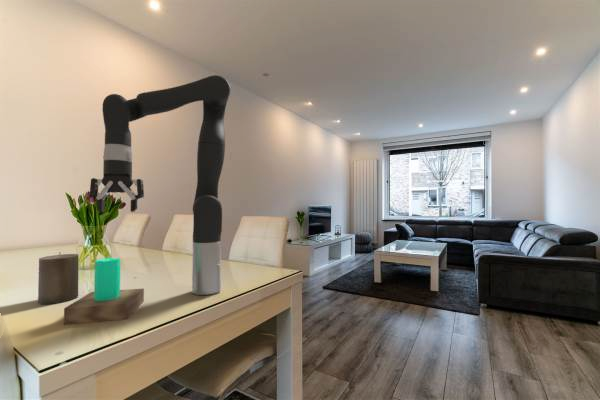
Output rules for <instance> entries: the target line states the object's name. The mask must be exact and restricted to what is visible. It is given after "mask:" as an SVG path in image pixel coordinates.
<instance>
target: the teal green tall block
mask: <svg viewBox="0 0 600 400" xmlns="http://www.w3.org/2000/svg"><path fill="white" fill-rule="evenodd" d="M93 290H94V291H93V292H94V300H96V301H105V300H111V299H115V298H117V297H119V296H120V290H121V258H114V257H107V258H101V259H98V260H95V261H94V289H93Z"/></svg>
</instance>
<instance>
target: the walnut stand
mask: <svg viewBox="0 0 600 400" xmlns="http://www.w3.org/2000/svg"><path fill="white" fill-rule="evenodd" d="M144 297H145V289H144V288H131V289H128V288H127V289H120V296H119V297H117V298H115V299H111V300H105V301H96V300H94V291H91V292H89V293H87V294H86V295H84V296H83V297H81V298H79V299H78V300H76V301H74V302H73V303H70V304H69V305H67V306H65V307H64V309H63V325H73V324H74V325H75V324H84V323H85V324H87V323H94V322H95V323H97V322H99V323H100V322H109V321H119V320H120V321H121V320H127V319H129V318H130V316H132V314H133V313H134V312H135V311H136V310H138V308H139V307H140V306H141V305H142V304H143V303H144V301H145V299H144Z"/></svg>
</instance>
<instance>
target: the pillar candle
mask: <svg viewBox="0 0 600 400" xmlns="http://www.w3.org/2000/svg"><path fill="white" fill-rule="evenodd" d="M79 260H80V259H79V254H78V253H66V254H65V253H63V254H62V253H61V252H59V254H55V255H47V256H42V257H39V258H38V282H37V283H38V284H37V286H38V293H37V295H38V297H37V302H38V304H39V305H50V304H51V305H53V304H58V303H59V304H60V303H64V302H69V301H72V300H74V299H77V298H78V297H79Z"/></svg>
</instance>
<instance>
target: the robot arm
mask: <svg viewBox="0 0 600 400" xmlns="http://www.w3.org/2000/svg"><path fill="white" fill-rule="evenodd" d="M230 94H231V85H230V83H229V81H228V80H227V79H226V78H225V77H223V76H220V75H217V74H216V75H209V76H207V77H204V78H201V79H197V80H196V81H192V82H188V83H186V84H183V85H177V86H174V87H173V86H172V87H168V88H164V89H157V90H151V91H144V92H141V93H138V94H137V95H136V97H134V98H132V99H126V98H125V97H124V96H122V95H120V94H118V93H117V94H116V93H111V94H108V95H107V96H106V97H105V98H104V99H103V102H102V117H103V124H104V129H105V130H104V147H103V148H104V149H103V155H102V159H103V166H102V167H103V170H102V171H103V174H102V175H103V177H102V179H101V178H95V177H92V178H90V188H89V198H92V199H95V200H96V205H97V207H96V209H97V211H99V213H105V211H106V200H105V198H106V197H107V196H108V195H109V194H111V193H113V194H116V193H117V194H118V193H121V194H122V193H123V194H124V193H125V194H126V195H128V196H129V198H130V212H132V213H134V212H136V210H138V200H139V199H143V198H144V197H145V191H144V180H143V179H141V178H136V179H134V178H133V151H132V132H131V129H130V123H132V122H134V121H135V122H136V120H139V119H140V120H141V119H143V118H145V117H147V116H152V115H157V114H158V115H159V114H163V113H166V112H168V113H169V112H171V111H175V110H176V109H179V108H181V107H184V106H186V105H188V104H191V103H196V102H200V101H202V107H203V109H202V110H203V113H202V123H201V126H200V131H199V135H198V143H197V153H196V155H197V156H196V173H197V176H196V177H197V178H196V179H197V180H196V181H197V182H196V190H195V194H194V201H193V205H192V213H193V224H192V225H193V229H192V231H193V232H192V269H191V270H192V274H191V275H192V277H191V278H192V279H191V280H192V281H191V282H192V285H191V288H192V289H191V291H192V294H193V295H197V296H206V295H213V294H219V293H221V282H222V281H221V279H222V277H221V276H222V275H221V272H222V267H221V265H222V263H221V249H222V248H221V245H222V243H221V241H222V240H221V239H222V238H221V237H222V232H223V231H222V230H223V228H222V227H223V207H222V203H221V201H220V200H219V181H220V178H221V174H222V171H223V166H224V161H225V155H226V154H225V152H226V151H225V150H226V136H225V135H226V133H225V126H224V125H225V124H224V122H225V113H226V108H227V104H228V101H229V97H230ZM101 184H102V185H103V186H104V187H103V188H102V189H101V191H100V192H99V187H100V186H101ZM133 185H134V186H135V187H136V189H137V193H135V192H134V190H132V186H133Z"/></svg>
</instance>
